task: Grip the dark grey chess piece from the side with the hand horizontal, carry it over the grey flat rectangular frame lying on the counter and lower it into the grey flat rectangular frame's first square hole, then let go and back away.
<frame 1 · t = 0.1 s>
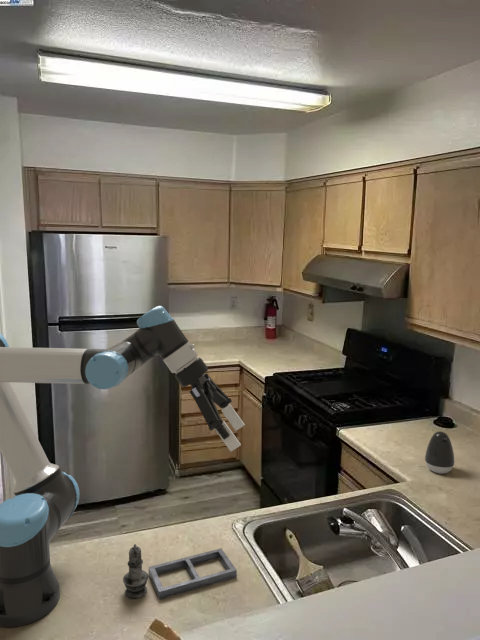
hand: (238, 437, 115), 36 cm above the countertop, tool tilted 35°, fingers open, 13 cm apart
dark grey chess piece: (136, 592, 114), on the countertop
grey flat rectangular frame: (192, 576, 119), on the countertop
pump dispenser: (439, 471, 181), on the countertop
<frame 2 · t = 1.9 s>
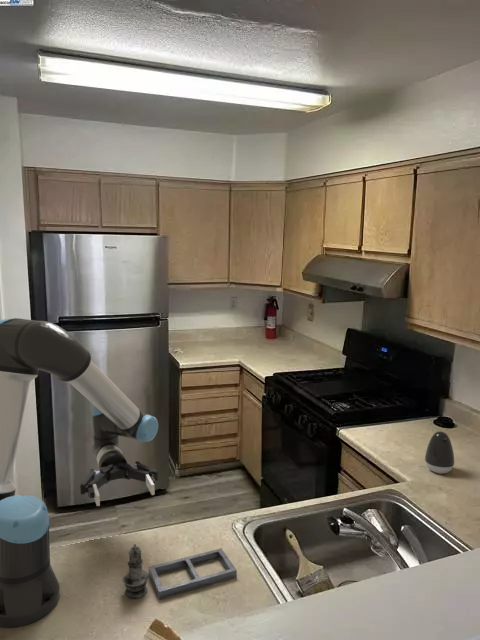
hand: (126, 495, 120), 19 cm above the countertop, tool horizontal, fingers open, 13 cm apart
nothing on the countertop moved.
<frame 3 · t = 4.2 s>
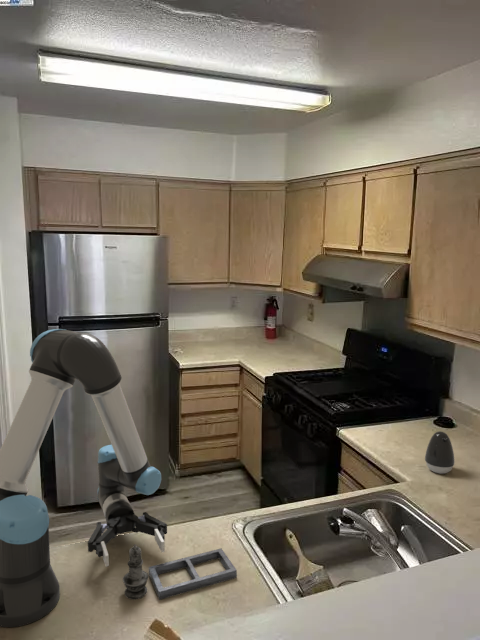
hand: (135, 553, 117), 7 cm above the countertop, tool horizontal, fingers open, 13 cm apart
nothing on the countertop moved.
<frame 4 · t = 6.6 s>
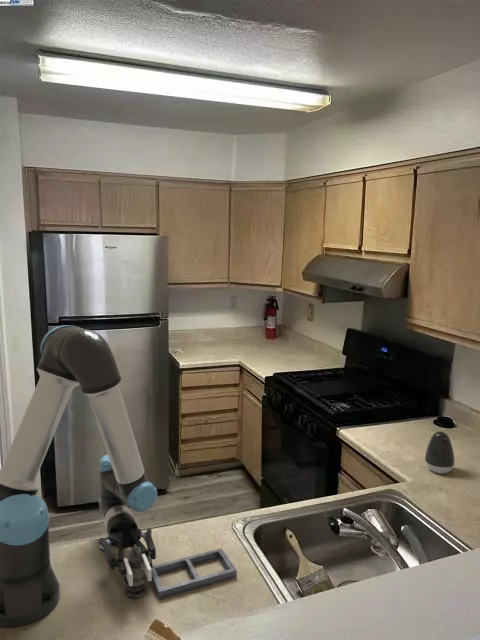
hand: (140, 577, 108), 7 cm above the countertop, tool horizontal, fingers closed on dark grey chess piece, 3 cm apart
dark grey chess piece: (136, 592, 114), on the countertop, touching gripper
everything else where it was.
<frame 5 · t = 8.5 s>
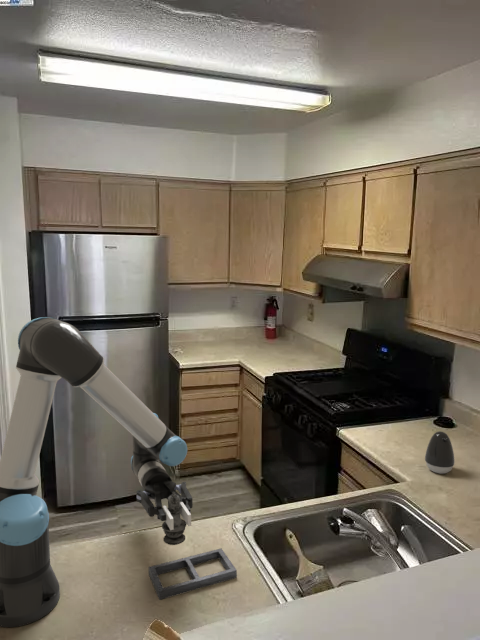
hand: (180, 522, 111), 18 cm above the countertop, tool horizontal, fingers closed on dark grey chess piece, 3 cm apart
dark grey chess piece: (174, 539, 116), point 11 cm above the countertop, touching gripper
everything else where it was.
when the fingers open (8 cm above the countertop, at t = 10.4 s): dark grey chess piece drops 1 cm, resting in grey flat rectangular frame.
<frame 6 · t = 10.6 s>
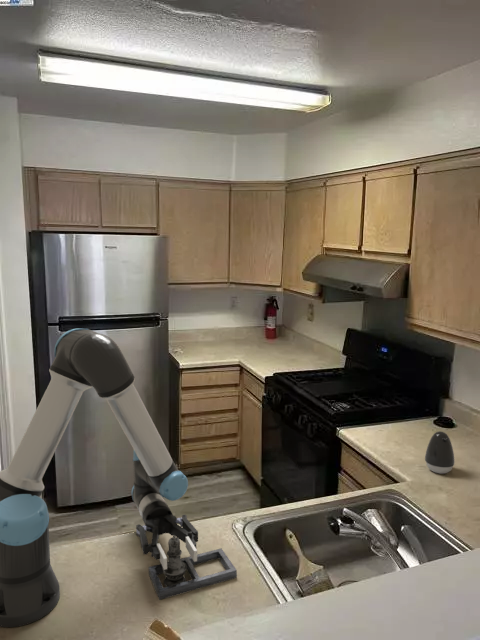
hand: (180, 559, 112), 8 cm above the countertop, tool horizontal, fingers open, 7 cm apart
dark grey chess piece: (174, 581, 118), resting in grey flat rectangular frame
everything else where it was.
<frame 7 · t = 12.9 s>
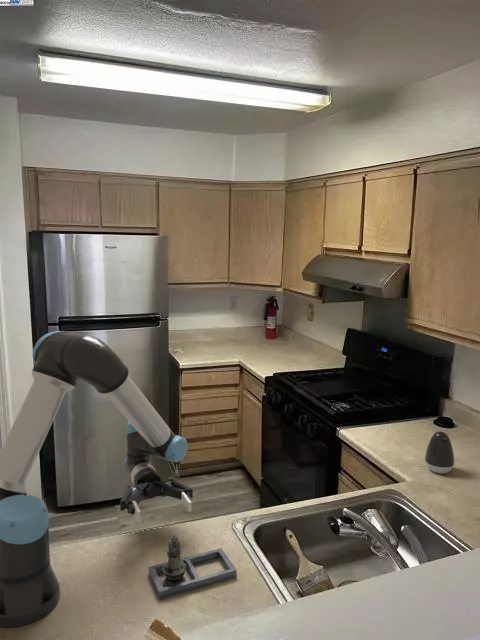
hand: (165, 512, 125), 13 cm above the countertop, tool horizontal, fingers open, 13 cm apart
nothing on the countertop moved.
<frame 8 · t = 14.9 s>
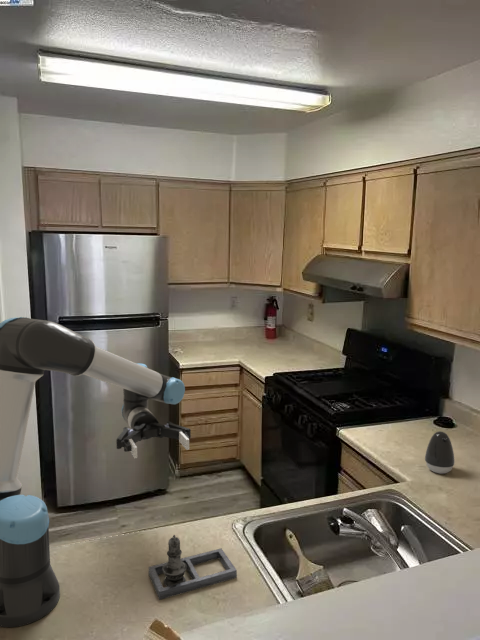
hand: (162, 448, 123), 30 cm above the countertop, tool horizontal, fingers open, 13 cm apart
nothing on the countertop moved.
at the end: dark grey chess piece 0.0 cm from the target spot on the grey flat rectangular frame, point 0.0 cm above the grey flat rectangular frame's base; dark grey chess piece tilted 0°; the gripper is holding nothing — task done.
